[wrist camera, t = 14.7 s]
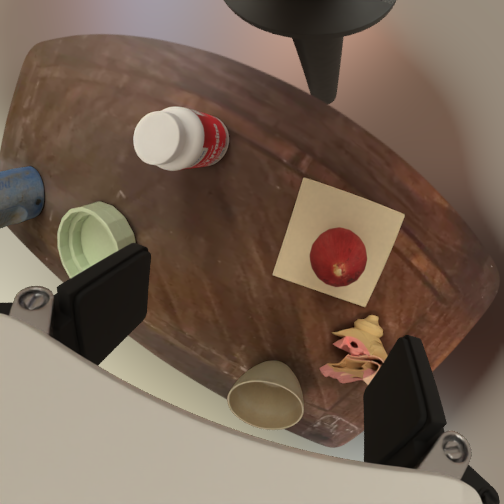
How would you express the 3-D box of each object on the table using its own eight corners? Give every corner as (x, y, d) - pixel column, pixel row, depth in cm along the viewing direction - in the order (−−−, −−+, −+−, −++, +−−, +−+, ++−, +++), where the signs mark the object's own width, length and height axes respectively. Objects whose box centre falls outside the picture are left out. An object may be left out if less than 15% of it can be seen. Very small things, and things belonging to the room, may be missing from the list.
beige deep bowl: (228, 366, 42) (212, 398, 36) (276, 334, 38) (265, 368, 32) (273, 404, 43) (264, 437, 36) (323, 378, 39) (319, 414, 33)
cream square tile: (303, 176, 31) (303, 177, 31) (404, 214, 30) (405, 214, 29) (273, 273, 36) (272, 275, 35) (364, 305, 34) (365, 307, 34)
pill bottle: (219, 174, 34) (172, 184, 23) (175, 156, 34) (118, 161, 24) (238, 124, 31) (198, 112, 21) (192, 108, 32) (139, 95, 22)
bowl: (79, 192, 40) (58, 197, 35) (144, 215, 38) (124, 223, 34) (76, 267, 45) (58, 276, 40) (135, 297, 43) (119, 311, 39)
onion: (372, 254, 32) (383, 284, 24) (329, 279, 34) (327, 313, 26) (346, 211, 31) (351, 228, 24) (302, 237, 33) (294, 262, 26)
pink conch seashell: (335, 298, 35) (398, 317, 27) (372, 323, 40) (426, 341, 32) (301, 365, 34) (359, 399, 26) (344, 379, 39) (395, 406, 30)
